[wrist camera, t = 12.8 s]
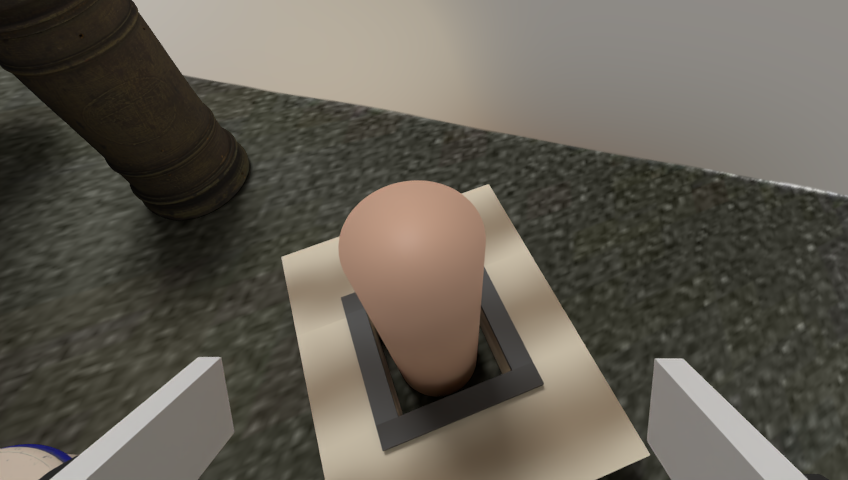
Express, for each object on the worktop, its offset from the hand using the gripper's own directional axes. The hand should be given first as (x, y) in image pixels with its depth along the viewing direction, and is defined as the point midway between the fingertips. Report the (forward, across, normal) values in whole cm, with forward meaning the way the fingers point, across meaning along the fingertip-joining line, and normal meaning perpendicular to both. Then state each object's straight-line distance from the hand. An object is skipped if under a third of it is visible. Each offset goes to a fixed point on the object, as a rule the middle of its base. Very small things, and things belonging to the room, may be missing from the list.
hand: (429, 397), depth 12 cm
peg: (+12, -1, -6) cm, 13 cm away
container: (+23, -22, +5) cm, 32 cm away
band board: (+12, 0, -5) cm, 13 cm away
